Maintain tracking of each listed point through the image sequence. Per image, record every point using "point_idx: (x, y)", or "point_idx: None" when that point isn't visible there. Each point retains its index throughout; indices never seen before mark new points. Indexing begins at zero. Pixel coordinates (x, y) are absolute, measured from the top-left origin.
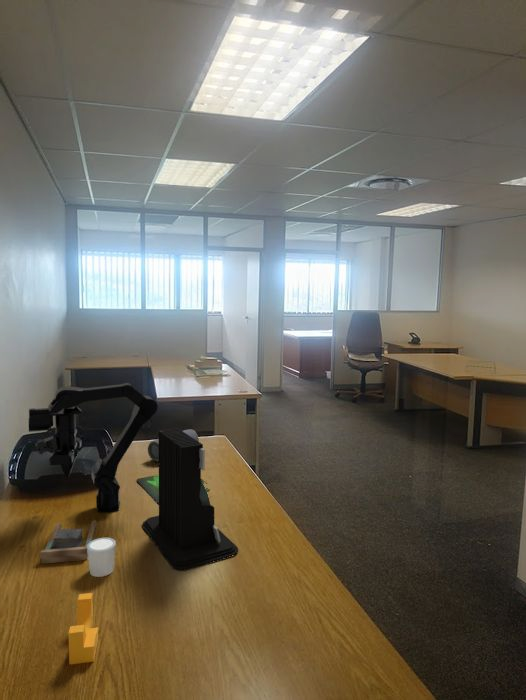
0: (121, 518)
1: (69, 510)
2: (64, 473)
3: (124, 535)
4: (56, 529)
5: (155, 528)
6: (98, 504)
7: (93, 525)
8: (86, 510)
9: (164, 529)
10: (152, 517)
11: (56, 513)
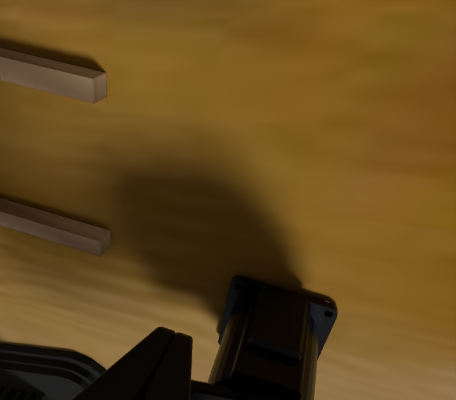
0: (151, 327)
1: (329, 156)
2: (104, 380)
3: (21, 298)
4: (25, 75)
5: (13, 376)
6: (251, 306)
7: (58, 237)
8: (286, 237)
9: (8, 388)
10: None
11: (316, 74)
